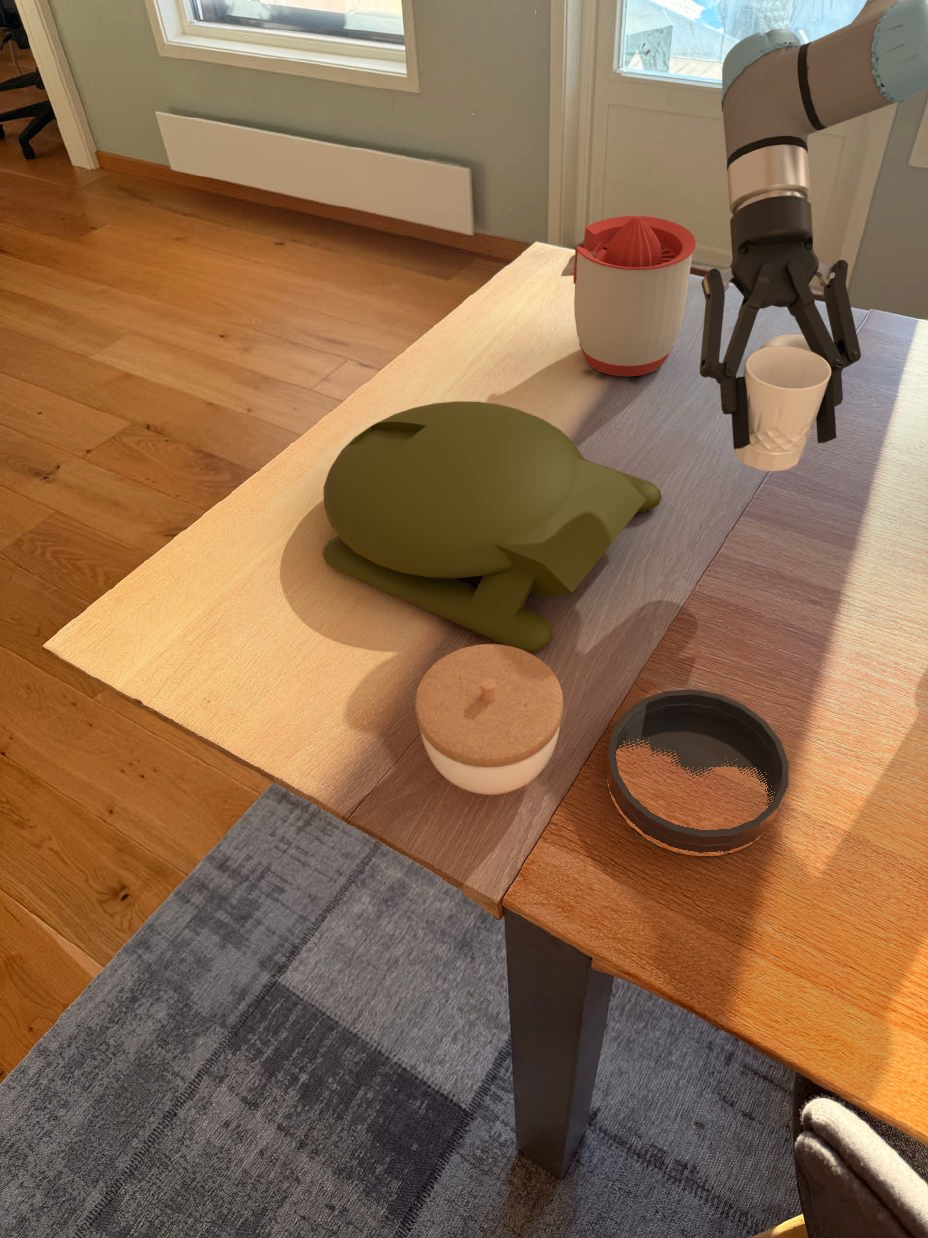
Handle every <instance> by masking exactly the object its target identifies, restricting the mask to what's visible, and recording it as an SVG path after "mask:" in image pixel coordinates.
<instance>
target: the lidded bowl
mask: <svg viewBox="0 0 928 1238" xmlns="http://www.w3.org/2000/svg"><path fill="white" fill-rule="evenodd" d="M414 710H415V716H416V720H417V721H416V722H417V725H418V726H419V731H420V732H419V733H420V736H421V737H420V738H421V741H422V744H423V746H424V749H425V751H426V754H427V756H428V758H429V759H430V761H431V763H432V764H433V766H434V767H435V769H436V770H437V771H438V772H439V773H440V774H441V775H442V776H443V777H444V778H445V779H446V780H447V781H449V782H450V783H451V784H452V785H454V786H456V787H458V788H460V789H462V790H464V791H468V792H471V793H474V794H479V795H488V796H492V795H493V796H494V795H502V794H503V795H504V794H506V793H507V794H508V793H510V792H513V791H516V790H518V789H520V788H522V787H524V786H526V785H527V784H529V783H531V782H532V781H533V780H535V779H536V778H537V776H539V775H540V773H542V771H544V769H545V768H546V767H547V765H548V763H549V762H550V759H552V755H553V754H554V752H555V750H556V746H557V742H558V740H559V734H560V731H561V723H562V718H563V713H564V694H563V689H562V687H561V684H560V681H559V679H558V678H557V676H556V675H555V673H554V672H553V670H552V669H551V668H550V667H549V666H548V665H547V664H546V663H545V662H543V660H541V659H540V658H538V657H537V656H535V655H533V654H532V653H528V652H526V651H524V650H521V649H518V648H515V647H511V646H506V645H502V644H500V643H498V644H495V643H485V644H475V645H469V646H466V647H463V648H459V649H456V650H455V651H453V652H451V653H449V654H446V655H445V656H443V657H441V658H440V659H439V660H437V661H436V662H435V663H434V664H433V665H432V666H430V668H429V669H427V671H426V672H425V673H424V675H423V677H422V678H421V680H420V681H419V684H418V686H417V689H416V692H415V697H414Z"/></svg>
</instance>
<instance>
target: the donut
mask: <svg viewBox="0 0 928 1238" xmlns="http://www.w3.org/2000/svg"><path fill="white" fill-rule="evenodd" d="M770 346H793V347H799V348H803V349H806V350H809V351H811V350H810V348H809V346H808V344H807V342H806V340H805V338H804V336H803V334H798V333H797V334H796V333H787V334H781V335H776V336H773V337H771V338H768V339H767V340H766V341H765V342H763V343H762V344H761V346H760V347H759V349H762V348H765V347H770Z"/></svg>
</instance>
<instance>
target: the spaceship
mask: <svg viewBox="0 0 928 1238" xmlns="http://www.w3.org/2000/svg"><path fill="white" fill-rule="evenodd" d="M661 500H662V492H661V489H659V487H658V486H657V485H656V484H655V483H653V482H651V481H649V480H646V479H643V478H641V477H638V476H634V475H631V474H628V473H625V472H623V471H620V470H618V469H617V470H616V469H615V468H614V469H613V468H611V467H608V466H605V465H602V464H599V463H597V462H593V461H591V460H587V459H585V457H584V456H583V454H582V453H581V451H580V450H579V448H578V447H577V446H576V444H575V443H574V442H573V441H572V440H571V438H570V437H568V436H567V435H566V434H565V433H564V432H563V431H562V430H561V429H560V428H558V427H556V426H555V425H553V424H551V423H549V422H548V421H547V420H545V419H544V418H542V417H538V416H536V415H534V414H531V413H529V412H526V411H524V410H521V409H519V408H515V407H511V406H507V405H502V404H499V403H494V402H493V403H492V402H484V401H473V400H471V401H469V400H468V401H465V400H463V401H461V400H459V401H458V400H457V401H456V400H455V401H445V402H435V403H430V404H425V405H420V406H416V407H411V408H409V409H405V410H402V411H400V412H397V413H394V414H391V415H390V416H388V417H386V418H384V419H381V420H380V421H377V422H375V423H374V424H372V425H370V426H369V427H367V428H365V430H363V431H362V432H360V433H358V434H357V435H356V436H354V437H353V438H352V440H350V442H348V443H347V444H346V445H345V446H344V447H343V448H342V449H341V450H340V452H339V454H338V455H337V457H336V458H335V460H334V462H333V463H332V465H331V466H330V468H329V470H328V473H327V476H326V479H325V483H324V485H323V508H324V511H325V514H326V517H327V520H328V522H329V525H330V526H331V528H332V529H333V531H334V532H335V533H336V536H335V537H333V538H332V539H330V540H329V541H327V542H326V544H325V545H324V547H322V548H323V549H322V558H323V560H324V562H325V564H327V565H328V566H329V567H331V568H333V569H335V570H337V571H339V572H341V573H344V574H346V575H348V576H350V577H352V578H355V579H357V580H359V581H361V582H364V583H366V584H368V585H369V586H372V587H374V588H376V589H379V590H381V591H383V592H385V593H387V594H389V595H392V596H394V597H397V598H399V599H401V600H403V601H405V602H407V603H410V604H412V605H413V606H417V607H419V608H421V609H423V610H425V611H428V612H430V613H432V614H434V615H436V616H438V617H440V618H443V619H445V620H447V621H450V622H452V623H454V624H456V625H458V626H460V627H462V628H464V629H467V630H469V631H471V632H474V633H476V634H478V635H480V636H483V637H485V638H487V639H488V640H491V641H494V642H495V643H498V644H500V645H506V646H511V647H515V648H518V649H521V650H524V651H526V652H528V653H530V654H532V653H536V652H539V651H542V650H544V649H546V648H547V647H548V646H549V645H550V644H551V642H552V640H553V638H554V637H553V636H554V633H553V626H552V625H551V623H550V621H549V619H546V618H545V617H544V616H542V615H540V614H538V613H536V612H534V611H532V610H529V609H527V608H525V607H524V605H525V603H526V601H527V599H528V597H529V595H530V593H531V594H534V595H537V596H539V597H541V598H544V597H551V596H552V597H553V596H558V595H566V594H572V593H574V592H575V590H576V589H577V587H578V586H579V585H580V584H581V582H582V581H583V580H584V578H586V576H587V575H588V574H589V572H590V571H591V570H592V569H593V567H594V566H595V565H596V564H597V563H598V561H599V560H600V559H601V557H602V556H603V555H604V554H605V552H606V551H607V550H608V548H609V547H610V546H611V545H612V544H613V542H614V541H615V540H616V538H618V536H619V535H620V534H621V532H622V531H623V530H624V529H625V527H627V525H628V523H629V522H630V521H631V520H632V519H633V517H634V516H635V515H636V513H640V512H642V513H644V512H649V511H651V510H653V509H655V508H656V507H657V506H659V505H660V503H661ZM480 576H481V580H480V581H479V583H478V585H477V587H476V586H473V585H471V584H469V583H467V582H464V581H462V580H459V579H461V578H463V579H464V578H470V577H480Z"/></svg>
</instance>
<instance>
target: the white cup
mask: <svg viewBox="0 0 928 1238" xmlns="http://www.w3.org/2000/svg"><path fill="white" fill-rule="evenodd" d="M830 376H831V368H830V365H829V364H828V362H827V361H826V360H825V359H824V358H822V357H821V356H819V355H818V354H816V353H814V352H812V351H809V350H806V349H803V348H799V347H793V346H770V347H765V348H762V349H760V348H759V349H756V350H755V351H753V352H752V353H750V354H749V355H748V356H747V358H746V360H745V363H744V369H743V376H742V377H745V380H746V389H747V405H748V421H749V437H750V444H749V445H747V446H745V447H743V448H741V449H734V454H735V456H736V457H737V458H738V459H739V460H740V461H741V463H743V464H744V465H746V466H748V467H751V468H753V469H755V470H759V471H765V472H770V473H771V472H782V471H787V470H789V469H791V468H793V467H795V466H797V465H798V463H799V461H800V460H801V458H802V456H803V454H804V451H805V447H806V444H807V441H808V440H809V439H810V436H811V433H812V430H813V428H814V425H815V422H816V417H817V414H818V411H819V408H820V405H821V402H822V399H823V396H824V393H825V390H826V387H827V385H828V382H829V379H830Z"/></svg>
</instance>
